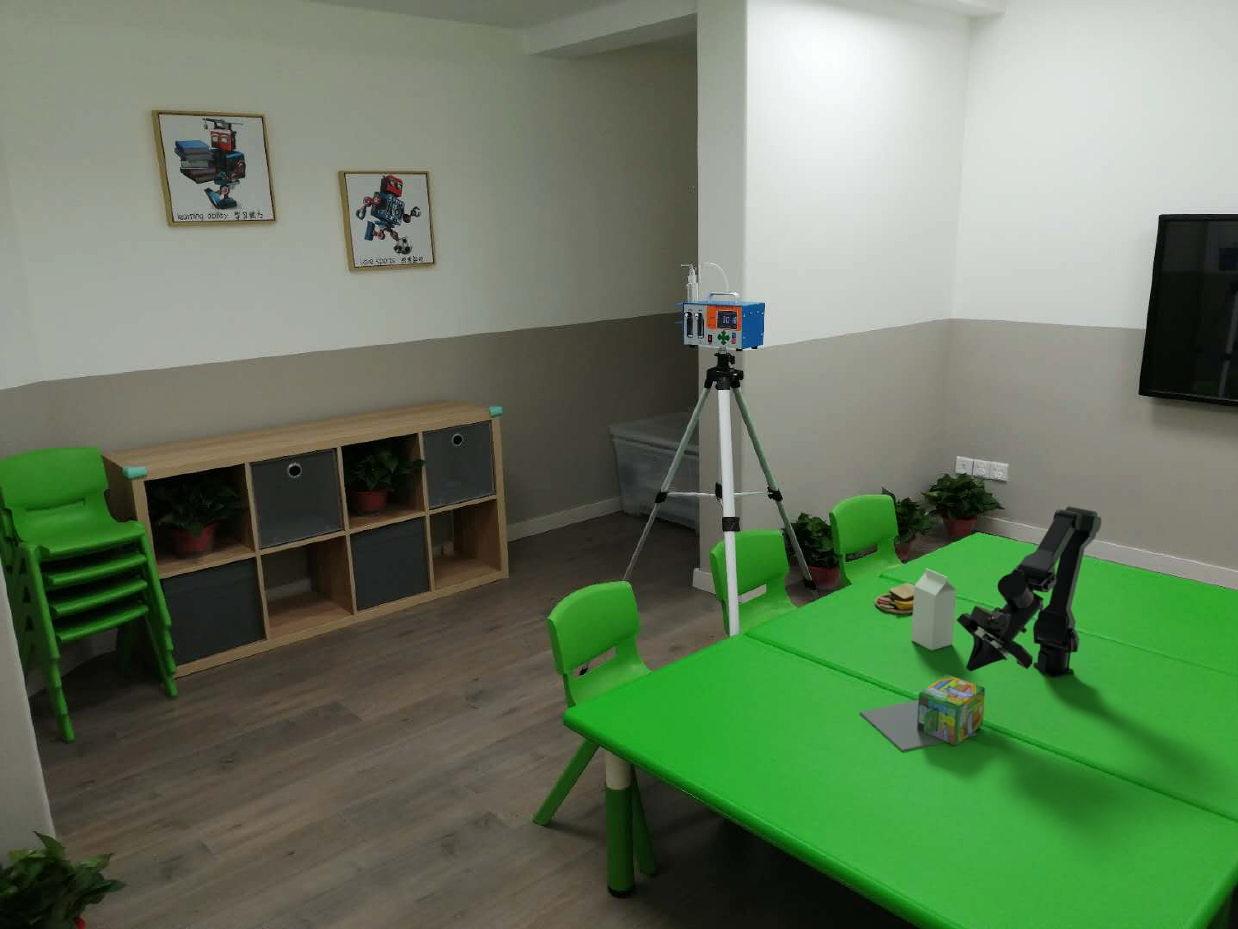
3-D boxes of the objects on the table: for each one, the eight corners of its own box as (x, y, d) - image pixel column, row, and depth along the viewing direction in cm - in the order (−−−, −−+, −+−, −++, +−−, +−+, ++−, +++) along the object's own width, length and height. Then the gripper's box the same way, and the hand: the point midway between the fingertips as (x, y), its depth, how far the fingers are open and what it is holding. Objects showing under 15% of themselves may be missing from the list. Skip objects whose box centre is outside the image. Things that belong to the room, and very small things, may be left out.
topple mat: (930, 699, 211) (930, 697, 210) (976, 735, 196) (976, 733, 196) (859, 713, 205) (859, 711, 205) (902, 751, 191) (902, 749, 191)
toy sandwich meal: (866, 600, 265) (866, 585, 264) (908, 595, 268) (909, 579, 267) (889, 618, 253) (890, 602, 252) (933, 612, 256) (934, 596, 255)
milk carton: (931, 651, 233) (936, 580, 228) (910, 640, 239) (915, 571, 234) (952, 645, 236) (957, 574, 231) (931, 634, 242) (936, 565, 237)
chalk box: (983, 725, 199) (949, 754, 189) (943, 710, 205) (908, 737, 195) (986, 686, 196) (951, 713, 186) (945, 672, 203) (909, 698, 193)
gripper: (966, 578, 207) (920, 632, 207) (1026, 610, 190) (976, 669, 190) (993, 606, 211) (948, 658, 211) (1054, 640, 194) (1005, 697, 194)
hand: (968, 669), depth 201 cm, fingers closed
